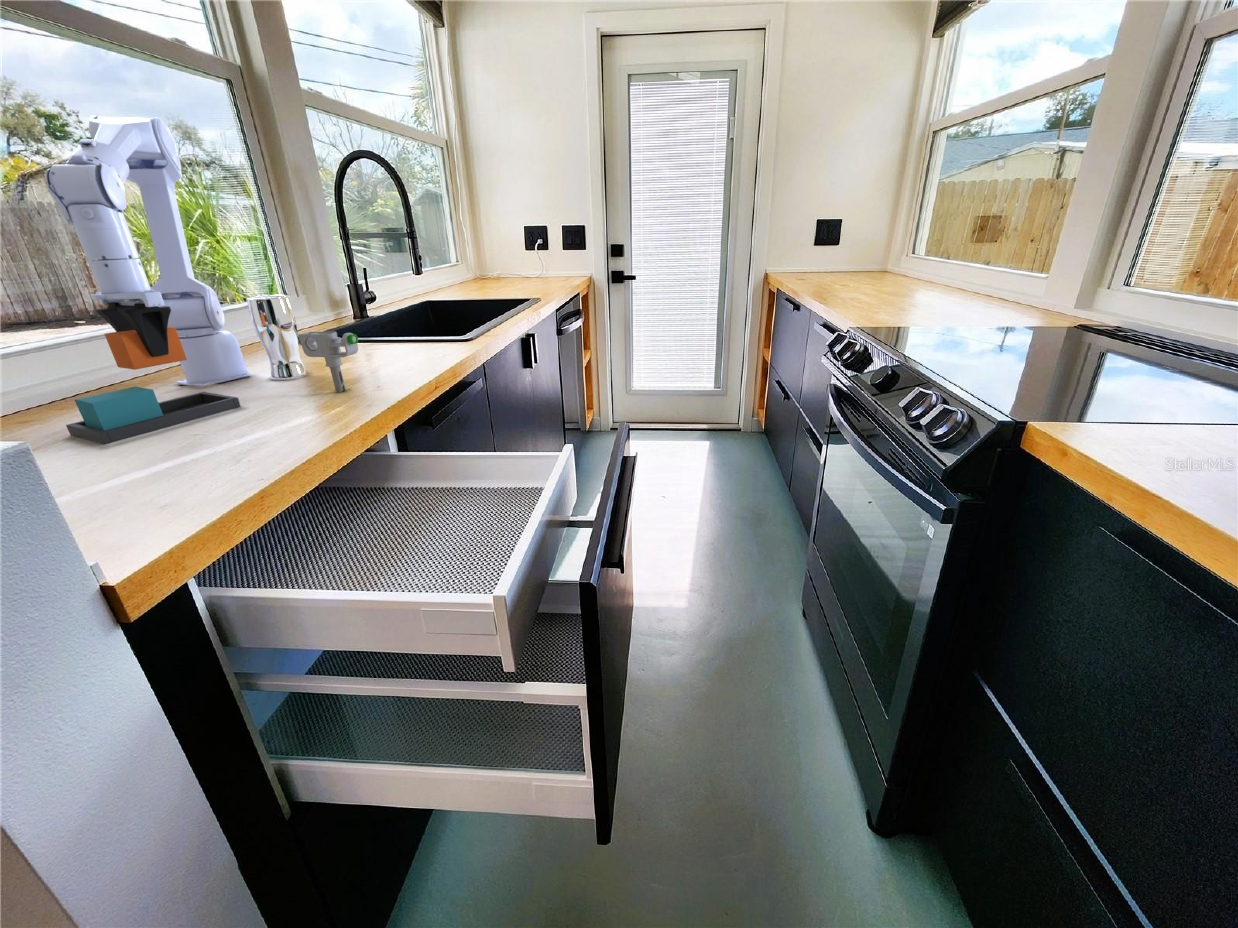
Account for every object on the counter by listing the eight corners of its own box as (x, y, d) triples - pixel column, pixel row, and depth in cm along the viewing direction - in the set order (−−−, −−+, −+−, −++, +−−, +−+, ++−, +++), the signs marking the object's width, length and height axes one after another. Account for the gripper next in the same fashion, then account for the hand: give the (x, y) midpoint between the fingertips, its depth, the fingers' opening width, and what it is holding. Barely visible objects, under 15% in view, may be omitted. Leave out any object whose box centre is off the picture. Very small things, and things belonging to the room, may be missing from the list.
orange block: (170, 357, 86) (158, 326, 84) (187, 359, 84) (175, 327, 82) (117, 367, 81) (104, 333, 79) (134, 369, 78) (120, 335, 76)
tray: (207, 403, 89) (203, 391, 88) (242, 409, 85) (237, 397, 84) (71, 438, 74) (65, 424, 74) (105, 447, 70) (99, 433, 69)
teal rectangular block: (148, 418, 80) (135, 386, 78) (166, 422, 78) (153, 389, 76) (89, 434, 74) (73, 399, 72) (107, 438, 72) (91, 403, 70)
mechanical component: (361, 394, 90) (347, 334, 86) (309, 393, 92) (293, 334, 88) (372, 389, 93) (359, 331, 89) (321, 388, 95) (306, 331, 91)
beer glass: (267, 382, 100) (242, 299, 94) (270, 375, 106) (247, 296, 100) (309, 377, 103) (287, 296, 97) (310, 370, 109) (289, 293, 103)
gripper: (55, 262, 76) (95, 356, 82) (103, 260, 70) (144, 363, 76) (115, 259, 82) (149, 347, 87) (165, 257, 76) (198, 353, 81)
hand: (150, 354), depth 82 cm, fingers closed on orange block, 5 cm apart
